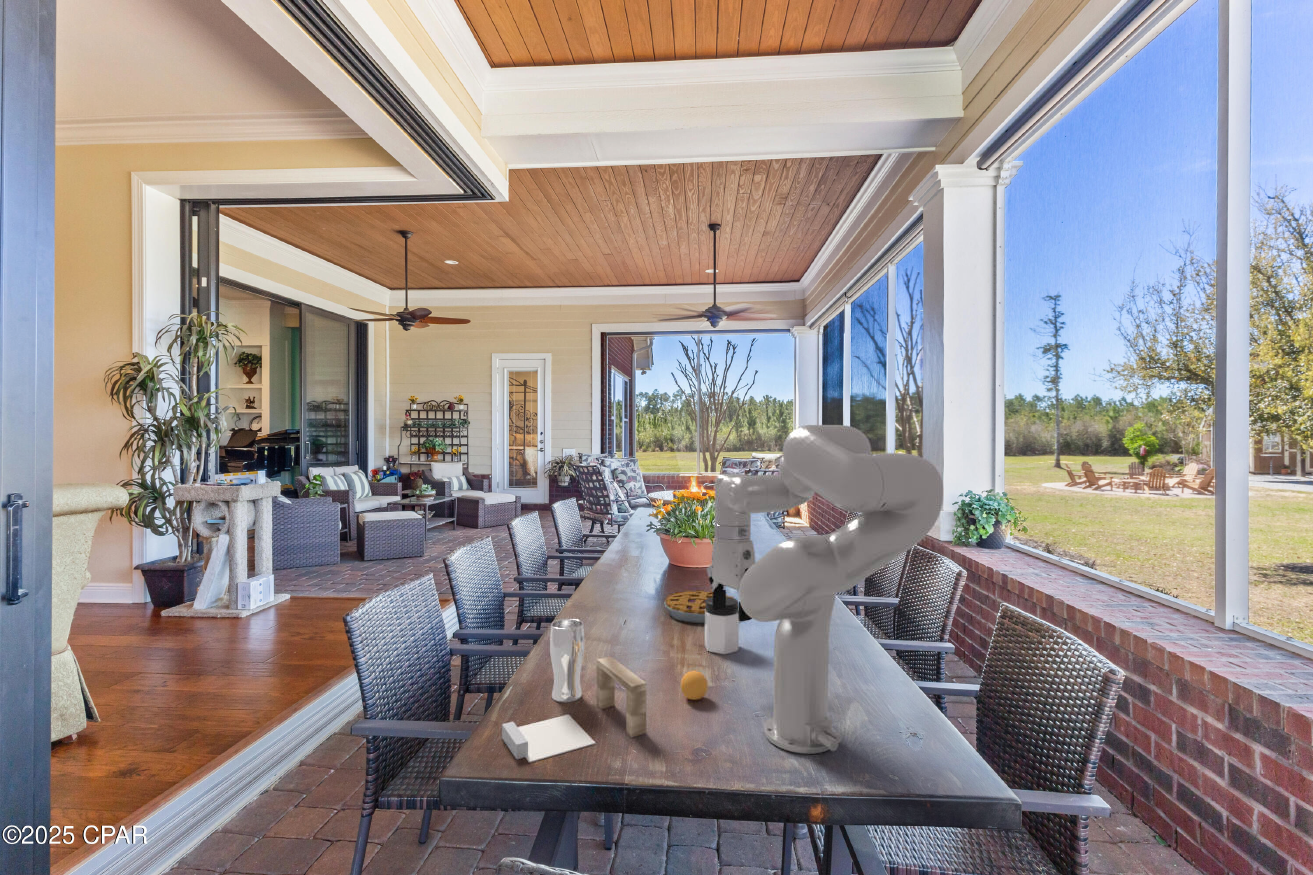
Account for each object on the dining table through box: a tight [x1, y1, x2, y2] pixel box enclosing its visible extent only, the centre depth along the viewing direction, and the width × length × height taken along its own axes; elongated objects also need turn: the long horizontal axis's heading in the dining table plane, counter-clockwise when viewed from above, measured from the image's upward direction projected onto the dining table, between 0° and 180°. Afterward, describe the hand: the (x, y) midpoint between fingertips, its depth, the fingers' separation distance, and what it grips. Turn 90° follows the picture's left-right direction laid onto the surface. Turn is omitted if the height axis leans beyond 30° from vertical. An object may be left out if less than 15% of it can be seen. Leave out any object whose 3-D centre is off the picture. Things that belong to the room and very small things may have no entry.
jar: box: [704, 597, 740, 655], centre depth 154 cm, size 9×8×12 cm
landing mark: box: [517, 714, 596, 764], centre depth 109 cm, size 12×12×1 cm
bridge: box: [596, 656, 647, 739], centre depth 116 cm, size 3×14×9 cm, turn 31°
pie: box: [663, 589, 735, 624], centre depth 182 cm, size 22×22×5 cm
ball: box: [680, 670, 708, 701], centre depth 125 cm, size 6×6×6 cm
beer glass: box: [549, 618, 585, 703], centre depth 126 cm, size 7×7×15 cm
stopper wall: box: [501, 721, 528, 760], centre depth 106 cm, size 8×2×2 cm, turn 31°
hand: (731, 614), depth 130 cm, fingers open, 8 cm apart
